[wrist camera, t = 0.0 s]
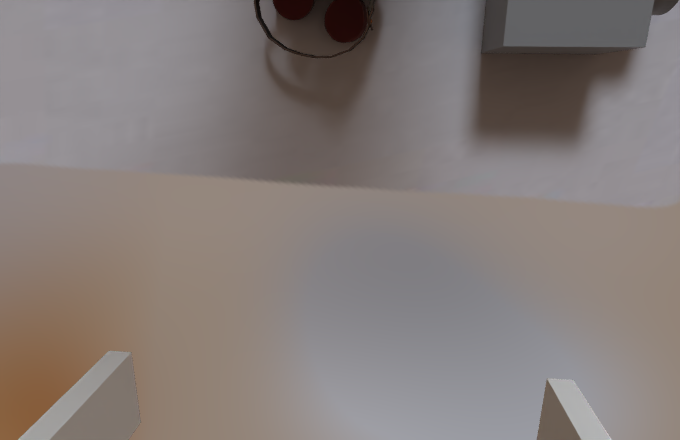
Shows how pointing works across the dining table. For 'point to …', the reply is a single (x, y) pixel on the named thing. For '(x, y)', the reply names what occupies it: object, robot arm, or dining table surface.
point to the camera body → (568, 25)
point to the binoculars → (326, 19)
